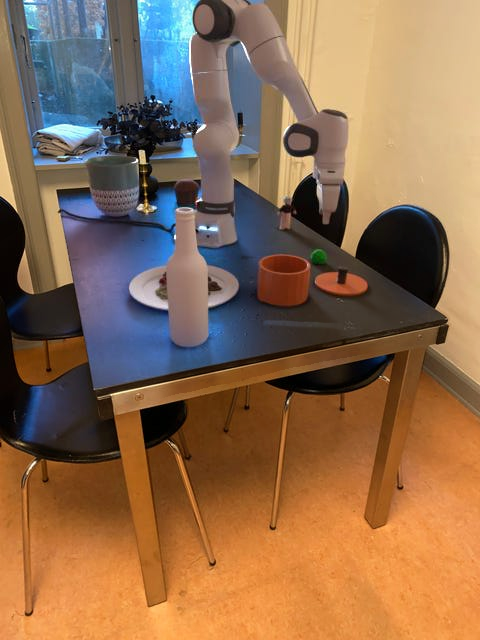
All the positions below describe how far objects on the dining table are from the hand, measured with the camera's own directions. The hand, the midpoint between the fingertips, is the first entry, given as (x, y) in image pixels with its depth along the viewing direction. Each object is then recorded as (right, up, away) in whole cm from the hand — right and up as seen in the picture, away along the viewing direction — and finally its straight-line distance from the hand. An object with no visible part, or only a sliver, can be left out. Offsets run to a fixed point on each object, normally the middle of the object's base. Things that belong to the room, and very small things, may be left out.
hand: (323, 218), depth 140 cm
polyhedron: (0, -13, +7) cm, 15 cm away
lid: (+4, -20, -7) cm, 22 cm away
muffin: (-49, +21, +67) cm, 86 cm away
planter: (-75, +12, +49) cm, 90 cm away
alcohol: (-37, -35, -33) cm, 61 cm away
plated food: (-41, -23, -11) cm, 48 cm away
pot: (-14, -24, -13) cm, 31 cm away
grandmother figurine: (-8, +4, +38) cm, 39 cm away
